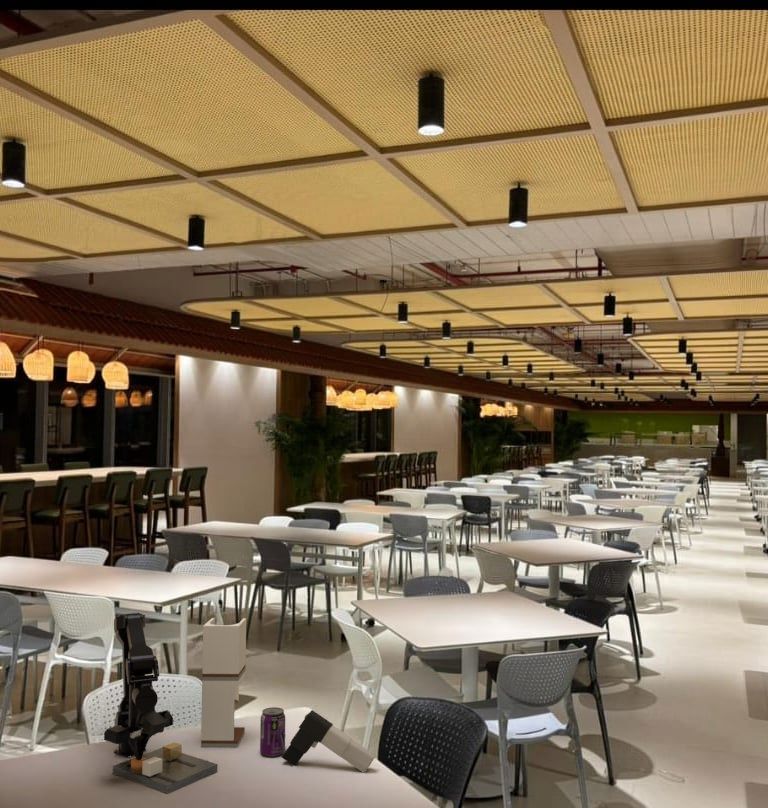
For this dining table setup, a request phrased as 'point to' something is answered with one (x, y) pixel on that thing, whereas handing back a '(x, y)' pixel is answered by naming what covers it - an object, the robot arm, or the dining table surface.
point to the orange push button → (137, 763)
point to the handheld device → (326, 742)
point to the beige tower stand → (222, 683)
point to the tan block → (172, 751)
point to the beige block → (152, 766)
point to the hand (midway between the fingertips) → (138, 759)
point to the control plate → (168, 772)
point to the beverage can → (272, 731)
